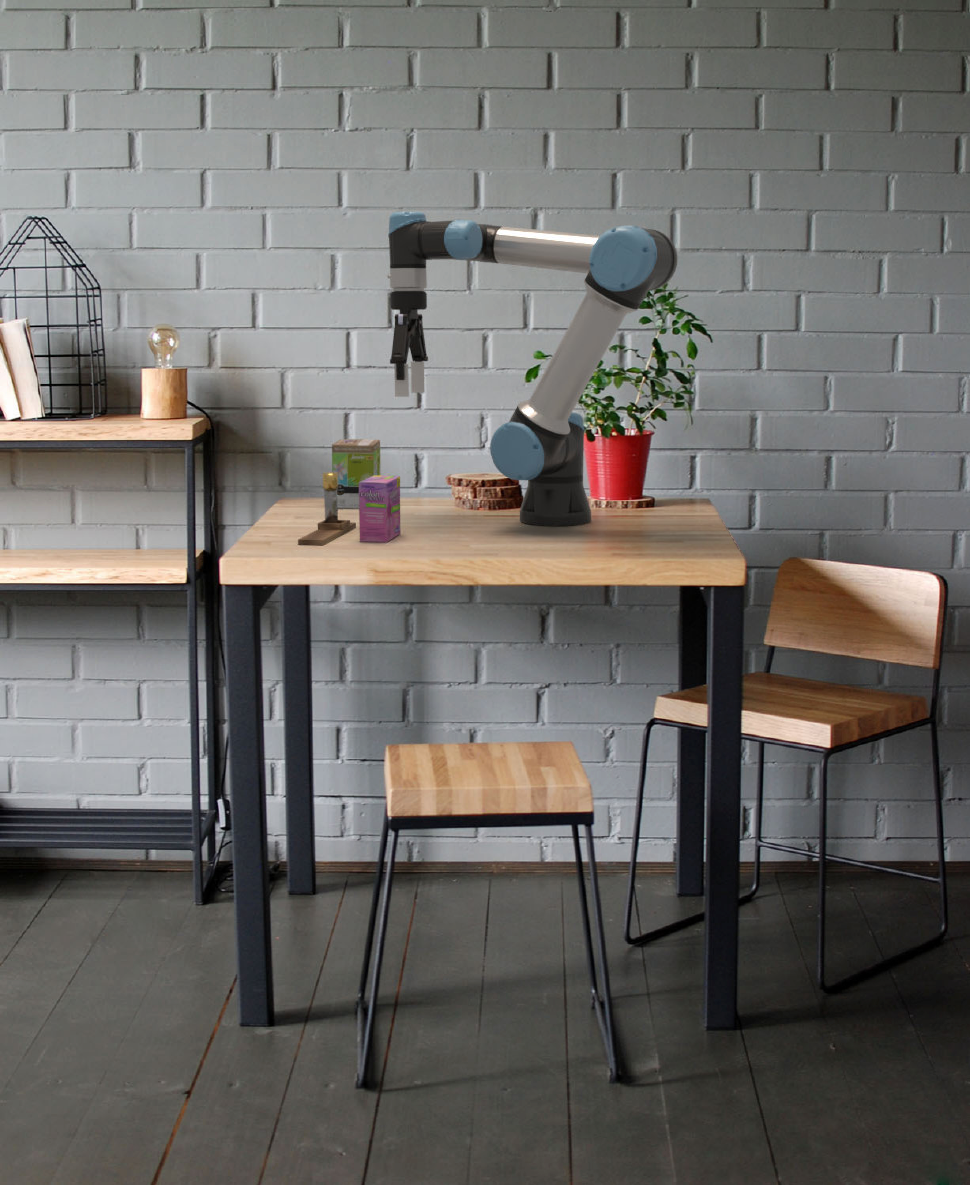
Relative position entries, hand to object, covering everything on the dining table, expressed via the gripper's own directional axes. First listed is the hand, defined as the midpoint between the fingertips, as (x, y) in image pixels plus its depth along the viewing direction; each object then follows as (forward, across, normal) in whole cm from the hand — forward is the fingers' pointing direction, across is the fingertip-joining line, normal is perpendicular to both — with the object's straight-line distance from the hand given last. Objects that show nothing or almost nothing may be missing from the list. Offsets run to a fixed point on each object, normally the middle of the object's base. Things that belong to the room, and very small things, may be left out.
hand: (410, 394), depth 276 cm
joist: (+27, +21, -12) cm, 36 cm away
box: (+27, +22, -1) cm, 35 cm away
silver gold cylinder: (+26, +17, -13) cm, 33 cm away
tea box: (+27, -23, -19) cm, 40 cm away
